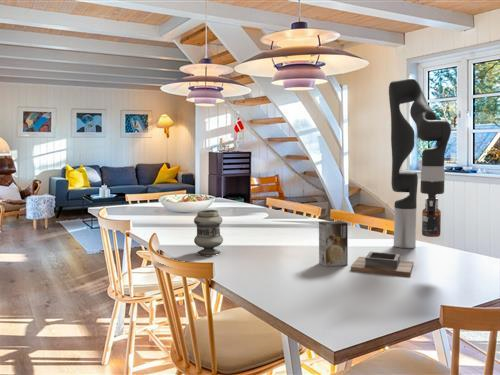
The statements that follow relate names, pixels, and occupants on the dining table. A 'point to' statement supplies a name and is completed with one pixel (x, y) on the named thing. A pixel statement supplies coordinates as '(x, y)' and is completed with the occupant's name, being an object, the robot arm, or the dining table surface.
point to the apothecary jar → (208, 231)
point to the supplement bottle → (436, 227)
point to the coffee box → (333, 243)
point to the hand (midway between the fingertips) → (431, 228)
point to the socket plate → (383, 264)
